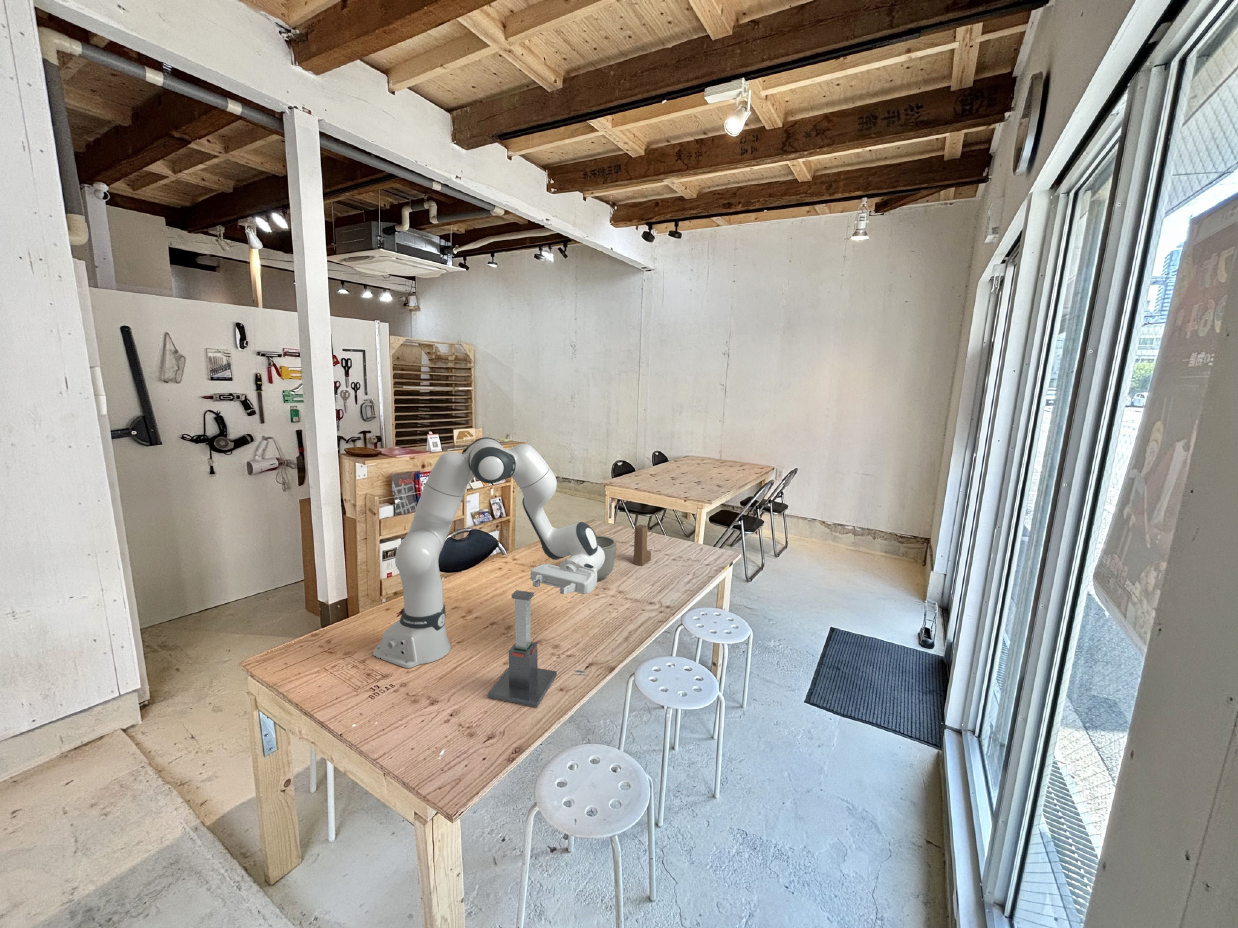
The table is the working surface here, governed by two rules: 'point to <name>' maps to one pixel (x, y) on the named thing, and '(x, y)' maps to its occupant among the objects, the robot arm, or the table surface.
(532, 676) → the stand
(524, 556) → the table surface
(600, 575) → the planter
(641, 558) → the wooden block
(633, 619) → the table surface
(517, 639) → the column
